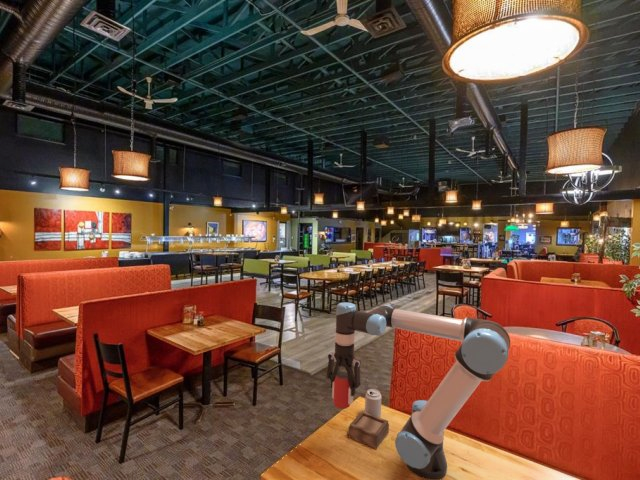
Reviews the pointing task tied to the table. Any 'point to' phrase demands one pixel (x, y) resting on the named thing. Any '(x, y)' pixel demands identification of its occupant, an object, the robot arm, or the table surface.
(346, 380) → the beer can
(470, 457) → the table surface
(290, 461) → the table surface
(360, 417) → the walnut tray
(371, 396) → the can
